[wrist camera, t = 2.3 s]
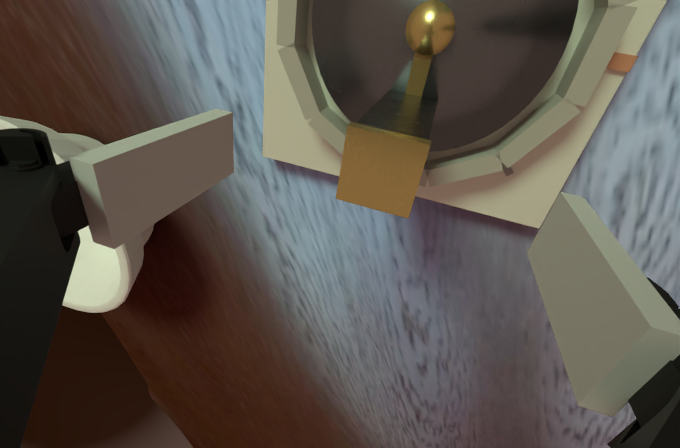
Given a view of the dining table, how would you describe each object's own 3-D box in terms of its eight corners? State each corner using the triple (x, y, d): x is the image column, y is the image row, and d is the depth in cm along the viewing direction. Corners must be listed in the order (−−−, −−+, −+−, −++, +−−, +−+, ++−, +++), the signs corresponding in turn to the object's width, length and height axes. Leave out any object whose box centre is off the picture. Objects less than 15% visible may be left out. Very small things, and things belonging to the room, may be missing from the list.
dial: (336, -151, 17) (201, -350, 8) (633, -123, 15) (913, -357, 6) (310, 120, 25) (224, 176, 16) (505, 166, 23) (539, 263, 13)
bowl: (154, 96, 30) (67, 116, 23) (207, 280, 41) (157, 331, 34) (-8, 91, 36) (-118, 107, 29) (75, 255, 46) (9, 294, 39)
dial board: (285, -252, 17) (251, -306, 15) (779, -231, 14) (864, -299, 11) (271, 150, 29) (250, 164, 26) (535, 218, 26) (545, 243, 23)
